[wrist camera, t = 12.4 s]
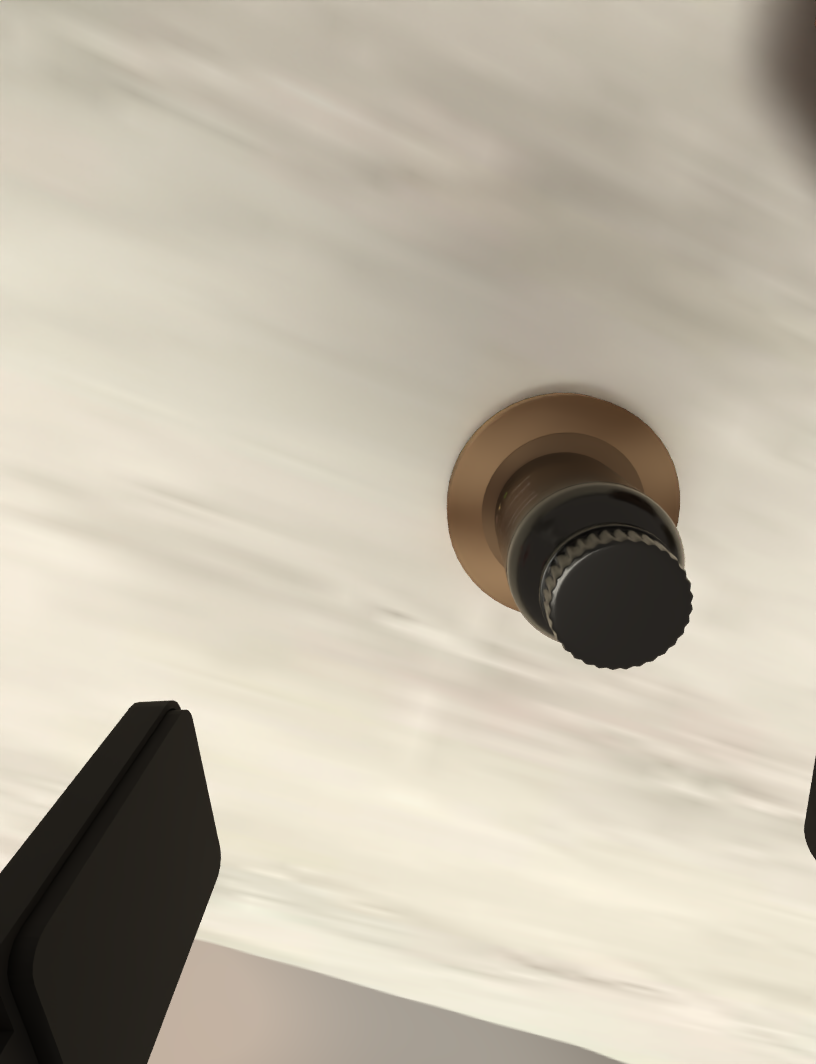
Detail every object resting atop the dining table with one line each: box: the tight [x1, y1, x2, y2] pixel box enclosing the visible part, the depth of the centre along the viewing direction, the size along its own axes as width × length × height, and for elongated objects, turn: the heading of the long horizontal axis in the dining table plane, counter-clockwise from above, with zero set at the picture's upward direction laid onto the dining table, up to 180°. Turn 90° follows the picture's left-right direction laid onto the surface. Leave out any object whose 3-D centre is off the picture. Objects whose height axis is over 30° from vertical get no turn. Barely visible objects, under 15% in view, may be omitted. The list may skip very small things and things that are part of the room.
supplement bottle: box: [494, 452, 693, 670], centre depth 26 cm, size 7×7×12 cm
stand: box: [447, 393, 680, 612], centre depth 33 cm, size 12×12×2 cm
